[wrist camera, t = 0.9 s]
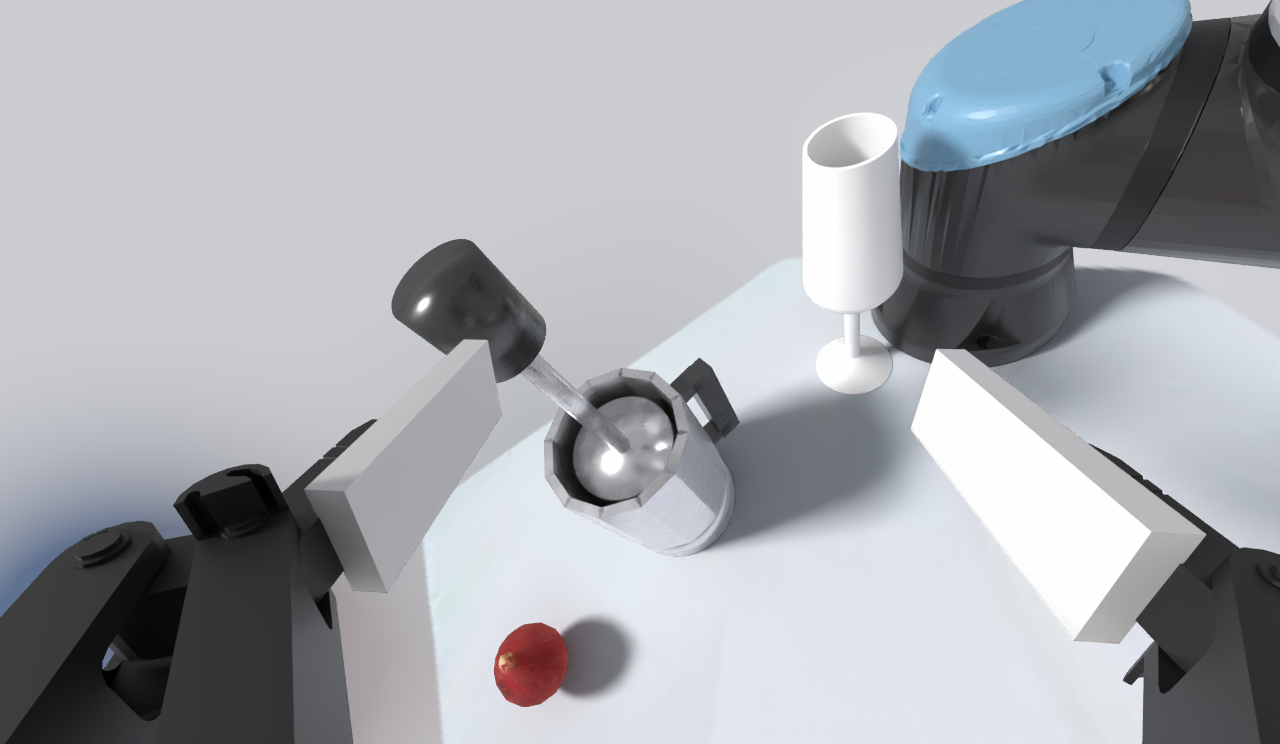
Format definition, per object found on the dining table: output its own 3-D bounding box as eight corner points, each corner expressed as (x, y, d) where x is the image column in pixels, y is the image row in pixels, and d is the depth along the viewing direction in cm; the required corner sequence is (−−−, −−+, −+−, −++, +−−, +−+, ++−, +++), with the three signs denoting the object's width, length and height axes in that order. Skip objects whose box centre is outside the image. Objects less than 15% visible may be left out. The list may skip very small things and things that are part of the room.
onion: (554, 720, 38) (494, 732, 32) (516, 668, 41) (455, 670, 35) (596, 656, 39) (546, 656, 33) (556, 611, 42) (504, 603, 36)
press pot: (704, 400, 48) (654, 317, 36) (785, 469, 41) (755, 394, 29) (606, 496, 46) (521, 442, 35) (673, 584, 40) (594, 553, 28)
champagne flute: (900, 388, 41) (936, 158, 22) (821, 399, 43) (791, 198, 24) (883, 328, 44) (901, 85, 25) (811, 341, 46) (778, 127, 28)
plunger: (633, 383, 37) (473, 188, 21) (698, 445, 32) (549, 249, 16) (561, 452, 36) (342, 302, 21) (615, 526, 31) (380, 401, 16)
